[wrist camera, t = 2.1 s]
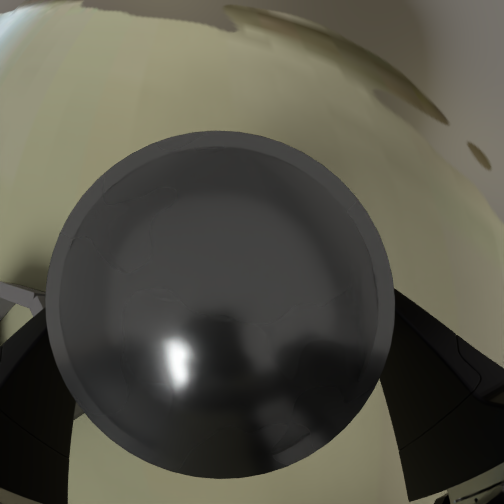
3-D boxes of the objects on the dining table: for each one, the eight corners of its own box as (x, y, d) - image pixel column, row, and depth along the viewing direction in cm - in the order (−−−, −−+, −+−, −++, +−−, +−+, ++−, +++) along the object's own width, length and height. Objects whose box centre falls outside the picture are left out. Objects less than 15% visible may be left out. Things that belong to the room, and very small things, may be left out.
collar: (116, 390, 14) (100, 402, 12) (38, 443, 13) (21, 453, 10) (41, 259, 16) (19, 253, 13) (-22, 332, 14) (-42, 332, 11)
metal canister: (294, 314, 16) (444, 324, 4) (220, 371, 15) (192, 520, 3) (236, 241, 17) (247, 85, 4) (162, 297, 16) (6, 265, 4)
